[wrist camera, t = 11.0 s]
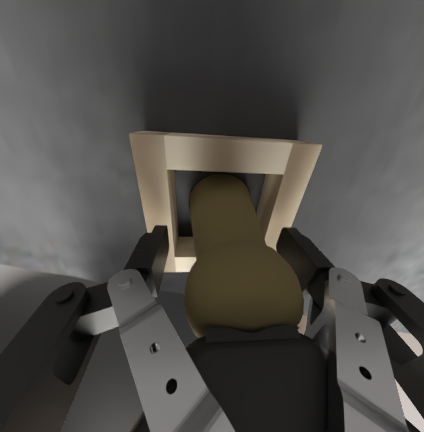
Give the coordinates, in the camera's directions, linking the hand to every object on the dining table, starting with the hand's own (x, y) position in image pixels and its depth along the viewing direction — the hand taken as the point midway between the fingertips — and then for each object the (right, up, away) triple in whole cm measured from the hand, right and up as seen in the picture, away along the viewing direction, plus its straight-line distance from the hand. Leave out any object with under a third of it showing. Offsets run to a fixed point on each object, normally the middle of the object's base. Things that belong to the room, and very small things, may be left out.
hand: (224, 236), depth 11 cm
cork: (0, +3, +4) cm, 5 cm away
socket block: (0, +3, +4) cm, 5 cm away
